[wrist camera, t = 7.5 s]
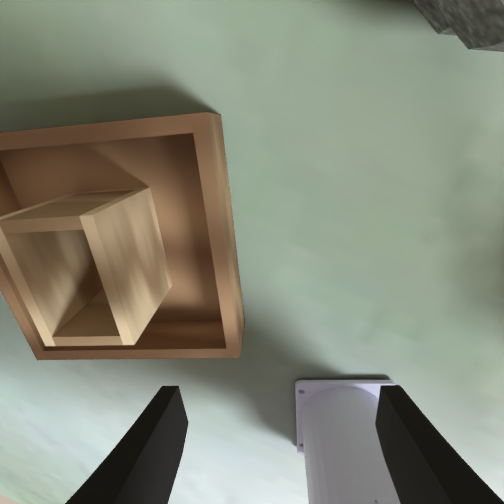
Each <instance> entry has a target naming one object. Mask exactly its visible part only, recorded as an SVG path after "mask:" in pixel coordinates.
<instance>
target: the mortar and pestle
mask: <svg viewBox="0 0 504 504" xmlns="http://www.w3.org/2000/svg"><path fill="white" fill-rule="evenodd" d="M413 3H414V4H415V5H416V6H417V8H418V9H419V10H420V11H421V13H422V14H423V15H424V16H425V18H426V19H427V20H428V21H429V23H430V24H431V25H432V27H433V28H434V29H435V30H436V32H437V33H438V34H446V35H457V36H458V37H459V39H460V40H461V41H462V42H463V43H464V44H465V46H466V47H467V48H468V49H475V50H488V51H502V52H504V0H413Z"/></svg>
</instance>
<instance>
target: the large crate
mask: <svg viewBox="0 0 504 504" xmlns="http://www.w3.org/2000/svg"><path fill="white" fill-rule="evenodd" d="M141 187H150V189H151V193H152V198H153V202H154V207H155V211H156V215H157V220H158V224H159V229H160V233H161V238H162V242H163V246H164V251H165V255H166V260H167V264H168V268H169V273H170V277H171V282H172V287H171V288H170V290H169V291H168V293H167V295H166V296H165V298H164V299H163V301H162V302H161V304H160V306H159V307H158V309H157V310H156V312H155V313H154V315H153V316H152V318H151V320H150V321H149V323H148V324H147V326H146V327H145V329H144V331H143V332H142V334H141V335H140V337H139V338H138V340H137V342H136V343H135V345H99V346H45V344H44V342H43V340H42V338H41V336H40V334H39V332H38V330H37V328H36V325H35V323H34V321H33V319H32V317H31V315H30V313H29V311H28V309H27V307H26V305H25V303H24V301H23V299H22V297H21V295H20V293H19V290H18V288H17V286H16V284H15V282H14V280H13V278H12V276H11V274H10V272H9V270H8V268H7V266H6V264H5V262H4V260H3V258H2V255H1V253H0V289H1V291H2V293H3V295H4V297H5V299H6V301H7V303H8V305H9V307H10V309H11V311H12V312H13V314H14V316H15V318H16V320H17V322H18V324H19V326H20V328H21V330H22V332H23V334H24V336H25V338H26V340H27V342H28V343H29V345H30V347H31V349H32V351H33V353H34V355H35V357H36V359H37V360H75V359H174V358H240V354H241V347H242V340H243V334H244V327H245V320H244V311H243V303H242V294H241V285H240V277H239V268H238V259H237V251H236V242H235V234H234V225H233V216H232V208H231V199H230V190H229V182H228V173H227V164H226V156H225V147H224V138H223V130H222V121H221V115H219V114H214V113H210V112H202V113H192V114H182V115H172V116H162V117H152V118H142V119H131V120H121V121H111V122H101V123H91V124H81V125H71V126H60V127H50V128H40V129H30V130H20V131H10V132H0V217H1V216H4V215H7V214H10V213H13V212H16V211H19V210H22V209H25V208H28V207H31V206H34V205H37V204H40V203H43V202H46V201H49V200H52V199H55V198H58V197H61V196H64V195H67V194H70V193H73V192H85V191H99V190H113V189H127V188H141Z"/></svg>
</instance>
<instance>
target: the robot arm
mask: <svg viewBox="0 0 504 504" xmlns="http://www.w3.org/2000/svg"><path fill="white" fill-rule="evenodd" d="M295 397H296V431H297V452H298V453H299V454H300V455H305V466H306V477H307V487H308V498H309V504H504V502H503V501H502V500H501V499H500V498H499V497H498V496H497V495H496V494H495V493H494V492H493V491H492V490H491V488H490V487H489V486H488V485H487V484H486V483H485V482H484V481H483V480H482V479H481V478H480V477H479V476H478V475H477V474H476V473H475V472H474V471H473V470H472V469H471V467H470V466H469V465H468V464H467V463H466V462H465V461H464V460H463V459H462V458H461V457H460V455H459V454H458V453H457V452H456V451H455V450H454V449H453V448H452V446H451V445H450V444H449V443H448V442H447V441H446V440H445V439H444V438H443V436H442V435H441V434H440V433H439V432H438V431H437V429H436V428H435V427H434V426H433V425H432V424H431V422H430V421H429V420H428V419H427V418H426V416H425V415H424V414H423V413H422V412H421V410H420V409H419V408H418V407H417V406H416V404H415V403H414V402H413V401H412V399H411V398H410V397H409V396H408V394H407V393H406V392H405V391H404V389H403V388H402V387H401V386H400V385H395V383H394V382H393V381H392V380H298V381H297V382H296V383H295ZM187 427H188V419H187V416H186V412H185V408H184V405H183V401H182V397H181V393H180V390H179V386H162V387H161V388H160V390H159V391H158V392H157V394H156V395H155V396H154V398H153V399H152V400H151V402H150V403H149V404H148V406H147V407H146V408H145V410H144V411H143V412H142V414H141V415H140V416H139V417H138V419H137V420H136V421H135V423H134V424H133V425H132V427H131V428H130V429H129V430H128V432H127V433H126V434H125V435H124V437H123V438H122V439H121V440H120V442H119V443H118V444H117V445H116V447H115V448H114V449H113V450H112V451H111V453H110V454H109V455H108V456H107V457H106V458H105V460H104V461H103V462H102V463H101V464H100V465H99V467H98V468H97V469H96V470H95V471H94V472H93V474H92V475H91V476H90V477H89V478H88V479H87V481H86V482H85V483H84V484H83V485H82V486H81V487H80V488H79V489H78V490H77V492H76V493H75V494H74V495H73V496H72V497H71V498H70V499H69V500H68V501H67V502H66V503H65V504H168V500H169V497H170V494H171V490H172V487H173V484H174V480H175V477H176V474H177V470H178V467H179V464H180V460H181V457H182V453H183V448H184V443H185V438H186V433H187Z"/></svg>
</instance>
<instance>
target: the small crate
mask: <svg viewBox="0 0 504 504" xmlns="http://www.w3.org/2000/svg"><path fill="white" fill-rule="evenodd" d="M0 253H1V255H2V258H3V260H4V262H5V264H6V266H7V268H8V270H9V272H10V274H11V276H12V278H13V280H14V282H15V284H16V286H17V288H18V290H19V293H20V295H21V297H22V299H23V301H24V303H25V305H26V307H27V309H28V311H29V313H30V315H31V317H32V319H33V321H34V323H35V325H36V328H37V330H38V332H39V334H40V336H41V338H42V340H43V342H44V344H45V346H99V345H135V343H136V342H137V340H138V338H139V337H140V335H141V334H142V332H143V331H144V329H145V327H146V326H147V324H148V323H149V321H150V320H151V318H152V316H153V315H154V313H155V312H156V310H157V309H158V307H159V306H160V304H161V302H162V301H163V299H164V298H165V296H166V295H167V293H168V291H169V290H170V288H171V287H172V282H171V277H170V273H169V268H168V264H167V260H166V255H165V251H164V246H163V242H162V238H161V233H160V229H159V224H158V220H157V215H156V211H155V207H154V202H153V198H152V193H151V189H150V187H141V188H127V189H113V190H99V191H85V192H73V193H70V194H67V195H64V196H61V197H58V198H55V199H52V200H49V201H46V202H43V203H40V204H37V205H34V206H31V207H28V208H25V209H22V210H19V211H16V212H13V213H10V214H7V215H4V216H1V217H0Z"/></svg>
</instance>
